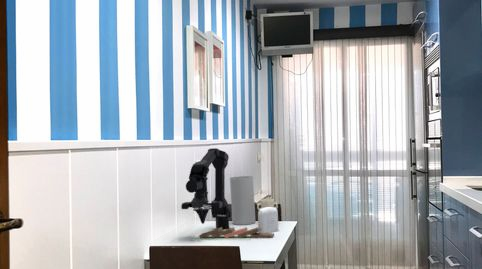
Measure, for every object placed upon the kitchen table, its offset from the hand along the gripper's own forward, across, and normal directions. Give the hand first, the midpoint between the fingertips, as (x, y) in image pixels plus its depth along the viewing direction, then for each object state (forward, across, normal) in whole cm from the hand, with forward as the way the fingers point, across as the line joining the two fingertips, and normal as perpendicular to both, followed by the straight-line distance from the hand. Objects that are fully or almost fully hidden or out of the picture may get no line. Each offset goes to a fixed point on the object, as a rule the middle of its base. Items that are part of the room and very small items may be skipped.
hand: (202, 223), depth 238 cm
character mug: (+7, +24, +36) cm, 44 cm away
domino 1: (+6, -1, 0) cm, 6 cm away
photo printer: (+7, +29, +12) cm, 32 cm away
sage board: (+7, +10, 0) cm, 12 cm away
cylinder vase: (+7, +9, +41) cm, 42 cm away
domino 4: (+6, +23, 0) cm, 24 cm away
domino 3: (+6, +17, 0) cm, 18 cm away
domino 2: (+6, +5, 0) cm, 7 cm away
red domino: (+6, +11, 0) cm, 12 cm away
